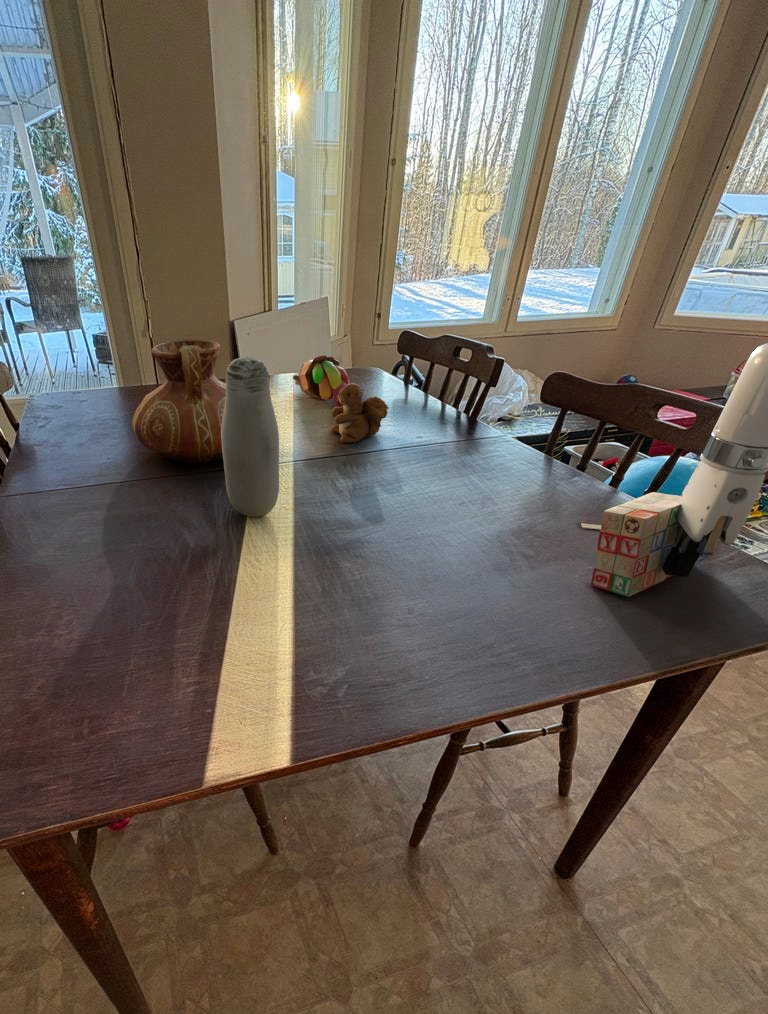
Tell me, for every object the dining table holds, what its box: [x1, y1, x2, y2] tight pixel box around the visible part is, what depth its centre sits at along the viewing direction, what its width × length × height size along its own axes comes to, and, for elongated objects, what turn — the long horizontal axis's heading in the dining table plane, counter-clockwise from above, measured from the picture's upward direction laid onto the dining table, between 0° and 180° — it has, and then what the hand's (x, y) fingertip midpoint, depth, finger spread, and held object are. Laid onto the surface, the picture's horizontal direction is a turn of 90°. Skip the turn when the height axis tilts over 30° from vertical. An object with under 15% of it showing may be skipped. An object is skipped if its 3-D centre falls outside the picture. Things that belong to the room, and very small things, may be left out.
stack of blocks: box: [590, 491, 709, 598], centre depth 83 cm, size 21×6×12 cm, turn 120°
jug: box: [131, 338, 226, 464], centre depth 127 cm, size 30×30×25 cm
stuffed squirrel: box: [330, 381, 390, 444], centre depth 136 cm, size 10×14×13 cm
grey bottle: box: [221, 356, 280, 518], centre depth 97 cm, size 10×10×28 cm
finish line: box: [580, 522, 602, 531], centre depth 98 cm, size 18×2×1 cm, turn 75°
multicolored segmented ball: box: [292, 354, 350, 407], centre depth 167 cm, size 15×15×25 cm
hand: (674, 572), depth 80 cm, fingers closed
